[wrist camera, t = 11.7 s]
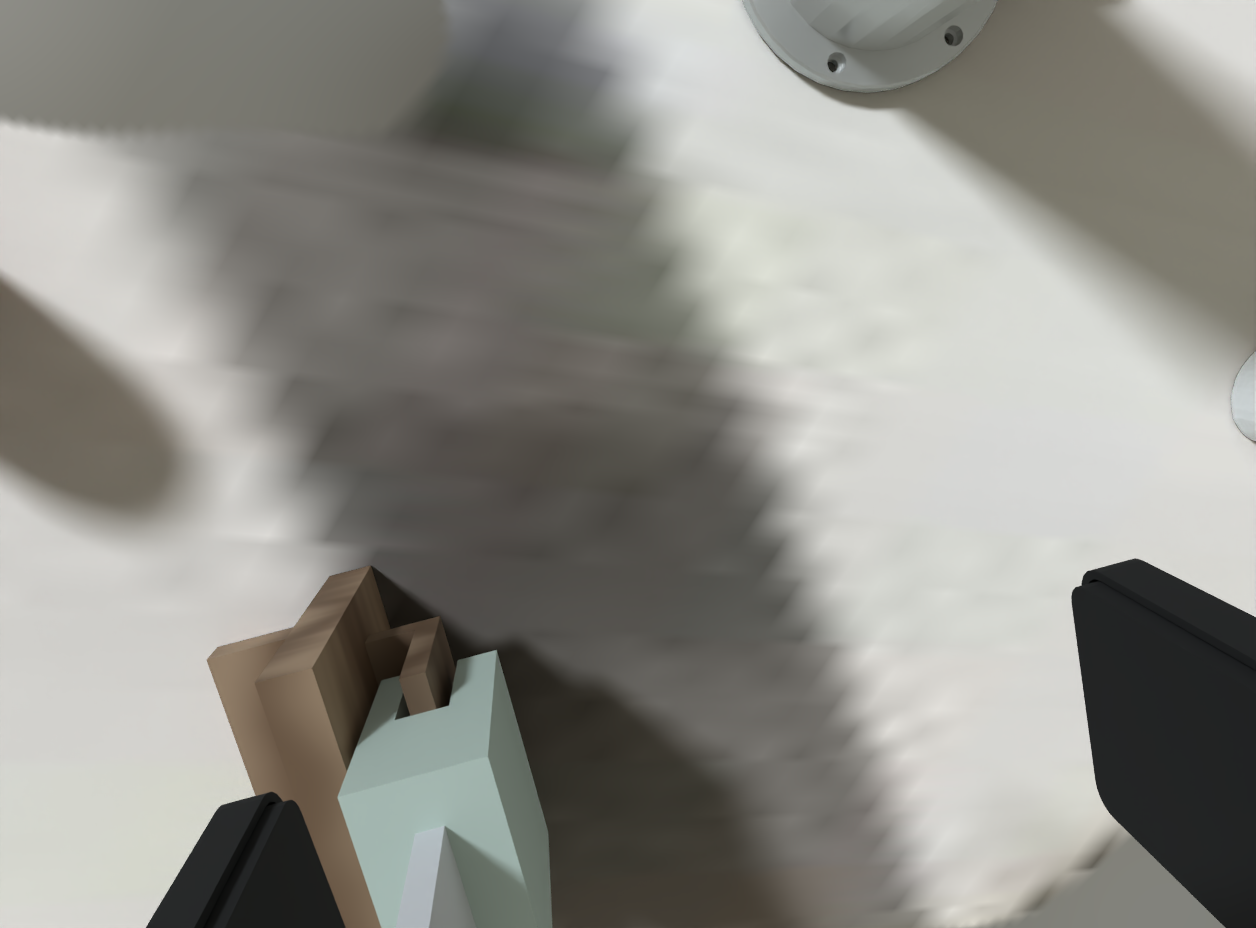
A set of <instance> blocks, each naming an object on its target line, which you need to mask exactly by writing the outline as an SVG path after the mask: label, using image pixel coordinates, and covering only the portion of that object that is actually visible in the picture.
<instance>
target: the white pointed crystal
mask: <svg viewBox="0 0 1256 928" xmlns="http://www.w3.org/2000/svg"><path fill="white" fill-rule="evenodd" d="M1231 406H1232V415H1233V420H1234V421H1235V423H1236V425H1237V426H1238V428H1239V429H1240V431H1241V432H1242V433H1243V434H1244V435H1245V436H1246V437H1248V438H1249V439H1251V440H1253V441H1256V351H1255V352H1254V353H1253V354H1252V355H1251V356H1250V357H1249V358H1248V360H1247V361H1246V362H1245V364H1244V365H1243V366H1242V368H1241V370H1240V371H1239V373H1238V375H1237V377H1236V380H1235V382H1234V387H1233V390H1232V395H1231Z"/></svg>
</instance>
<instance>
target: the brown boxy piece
mask: <svg viewBox="0 0 1256 928" xmlns="http://www.w3.org/2000/svg"><path fill="white" fill-rule="evenodd" d="M207 662H208V665H209V668H210V671H211V673H212V676H213V679H214V682H215V684H216V687H217V690H218V693H219V695H220V698H221V701H222V704H223V707H224V709H225V712H226V715H227V718H228V720H229V723H230V726H231V729H232V732H233V734H234V737H235V740H236V743H237V745H238V748H239V751H240V754H241V756H242V759H243V762H244V765H245V768H246V770H247V773H248V776H249V779H250V781H251V784H252V787H253V790H254V792H255V795H256V796H257V795H261V794H265V793H268V792H274V793H276V794H278V796H279V797H280V798H281V799H282V801H283V802H284V801H288V800H293V801H295V802H296V803H297V805H298V806H299V808H300V810H301V812H302V815H303V818H304V820H305V823H306V825H307V828H308V831H309V833H310V836H311V838H312V841H313V844H314V846H315V849H316V851H317V854H318V857H319V859H320V862H321V864H322V867H323V870H324V872H325V875H326V877H327V880H328V883H329V885H330V888H331V891H332V893H333V896H334V898H335V901H336V904H337V906H338V909H339V911H340V914H341V917H342V919H343V922H344V924H345V927H346V928H381V925H380V922H379V919H378V916H377V913H376V910H375V907H374V904H373V901H372V898H371V896H370V893H369V890H368V887H367V884H366V881H365V878H364V875H363V872H362V869H361V866H360V863H359V860H358V857H357V854H356V851H355V848H354V845H353V842H352V839H351V836H350V833H349V830H348V827H347V824H346V821H345V818H344V815H343V812H342V809H341V806H340V803H339V801H338V798H337V797H338V794H339V792H340V789H341V786H342V784H343V781H344V778H345V776H346V773H347V770H348V768H349V765H350V762H351V760H352V757H353V754H354V752H355V749H356V746H357V744H358V741H359V738H360V736H361V733H362V730H363V728H364V725H365V723H366V720H367V717H368V715H369V712H370V709H371V707H372V704H373V701H374V699H375V696H376V693H377V691H378V688H379V685H380V683H381V680H385V679H389V678H392V677H396V676H400V677H399V681H400V684H401V687H402V691H403V694H404V697H405V700H406V703H407V707H408V710H409V713H410V716H412V715H416V714H420V713H423V712H427V711H431V710H435V709H438V708H442V707H446V706H449V704H450V698H451V693H452V688H453V682H454V677H455V671H456V668H455V664H454V661H453V657H452V654H451V651H450V647H449V644H448V641H447V637H446V634H445V631H444V627H443V624H442V621H441V617H440V616H438V617H434V618H431V619H427V620H423V621H419V622H415V623H412V624H408V625H404V626H400V627H396V628H393V629H391V628H390V625H389V622H388V619H387V616H386V612H385V609H384V606H383V603H382V600H381V596H380V593H379V590H378V587H377V583H376V580H375V577H374V574H373V571H372V567H371V566H367V567H363V568H360V569H356V570H352V571H348V572H344V573H340V574H336V575H332V576H329V578H328V579H327V581H326V582H325V583H324V585H323V586H322V588H321V589H320V591H319V592H318V593H317V595H316V596H315V598H314V599H313V601H312V602H311V603H310V605H309V606H308V608H307V609H306V611H305V612H304V613H303V615H302V616H301V618H300V619H299V621H298V622H297V623H296V625H295V626H294V627H293V628H289V629H285V630H282V631H278V632H274V633H270V634H266V635H262V636H259V637H255V638H251V639H247V640H243V641H240V642H236V643H232V644H228V645H224V646H220V647H217V649H216V650H215V651H214V652H213V653H212V654H211V655H210V656H209V658H208V659H207Z"/></svg>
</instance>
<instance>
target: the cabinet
mask: <svg viewBox="0 0 1256 928" xmlns="http://www.w3.org/2000/svg"><path fill="white" fill-rule="evenodd" d="M399 677H400V676H396V677H392V678H389V679H385V680H381V683H380V685H379V688H378V691H377V693H376V696H375V699H374V701H373V704H372V707H371V709H370V712H369V715H368V717H367V720H366V723H365V725H364V728H363V730H362V733H361V736H360V738H359V741H358V744H357V746H356V749H355V752H354V754H353V757H352V760H351V762H350V765H349V768H348V770H347V773H346V776H345V778H344V781H343V784H342V786H341V789H340V792H339V794H338V797H337V798H338V801H339V803H340V806H341V809H342V812H343V815H344V818H345V821H346V824H347V827H348V830H349V833H350V836H351V839H352V842H353V845H354V848H355V851H356V854H357V857H358V860H359V863H360V866H361V869H362V872H363V875H364V878H365V881H366V884H367V887H368V890H369V893H370V896H371V898H372V901H373V904H374V907H375V910H376V913H377V916H378V919H379V922H380V925H381V928H552V906H551V883H550V859H549V836H548V829H547V826H546V822H545V819H544V815H543V812H542V808H541V805H540V801H539V798H538V794H537V791H536V787H535V784H534V780H533V777H532V773H531V770H530V766H529V762H528V759H527V755H526V752H525V748H524V745H523V741H522V738H521V734H520V731H519V727H518V724H517V720H516V717H515V713H514V710H513V706H512V703H511V699H510V695H509V692H508V688H507V685H506V681H505V678H504V674H503V671H502V667H501V664H500V660H499V657H498V653H497V650H494V651H491V652H487V653H483V654H479V655H475V656H472V657H468V658H464V659H460V660H458V661H457V666H456V671H455V677H454V682H453V688H452V693H451V698H450V704H449V706H446V707H442V708H438V709H435V710H431V711H427V712H423V713H420V714H416V715H412V716H410V713H409V710H408V707H407V703H406V700H405V697H404V694H403V691H402V687H401V684H400V681H399Z"/></svg>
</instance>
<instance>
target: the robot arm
mask: <svg viewBox="0 0 1256 928" xmlns="http://www.w3.org/2000/svg"><path fill="white" fill-rule="evenodd" d="M997 1H998V0H742V2H743V5H744V8H745V10H746V11H747V13H748V15H749V17H750V19H751V21H752V22H753V24H754V26H755V28H756V30H757V32H758V33H759V34H760V36H761V37H762V38H763V39H764V40H765V42H766V43H767V44H768V45H769V47H770V48H771V49H772V50H773V52H774V53H775V54H776V55H777V56H779V57H780V58H781V59H782V60H783V61H785V62H786V63H787V64H788V65H789V66H791V67H792V68H793V69H794V70H795V71H797V72H799V73H801V74H802V75H804V76H806V77H808V78H810V79H812V80H813V81H815V82H817V83H819V84H823V85H826V86H829V87H833V88H836V89H839V90H843V91H853V92H865V93H870V92H878V91H886V90H894V89H896V88H899V87H902V86H905V85H908V84H911V83H914V82H917V81H919V80H921V79H922V78H924V77H926V76H928V75H930V74H932V73H934V72H936V71H937V70H939V69H940V68H942V67H943V66H944V65H946V64H947V63H949V62H950V61H951V60H953V59H954V58H955V57H957V56H958V55H959V54H960V53H961V52H962V51H963V50H964V49H965V48H966V47H967V46H968V45H969V44H970V43H971V42H972V41H973V39H974V38H975V37H976V36H977V35H978V34H979V32H980V31H981V29H982V28H983V26H984V25H985V23H986V21H987V20H988V18H989V17H990V15H991V14H992V12H993V10H994V8H995V6H996V3H997ZM944 36H946V37H947V38H948V39H949V45H948V44H947V43H946V41H945V39H944ZM828 62H832V63H833V64H834V66H835V71H834V72H832V71H830V70H829V68H828V65H827V63H828ZM1072 608H1073V616H1074V623H1075V631H1076V638H1077V646H1078V653H1079V661H1080V668H1081V676H1082V683H1083V690H1084V698H1085V705H1086V713H1087V720H1088V728H1089V735H1090V743H1091V750H1092V758H1093V765H1094V773H1095V780H1096V785H1097V789H1098V792H1099V795H1100V797H1101V799H1102V801H1103V803H1104V805H1105V807H1106V808H1107V810H1108V811H1109V813H1110V814H1111V815H1112V816H1113V818H1114V819H1115V820H1116V821H1117V822H1118V823H1120V824H1121V825H1122V826H1123V827H1124V828H1125V829H1126V830H1127V831H1128V832H1129V833H1130V834H1131V835H1132V836H1133V837H1134V838H1135V839H1136V840H1137V841H1138V842H1139V843H1140V844H1141V845H1142V846H1143V847H1144V848H1145V849H1146V850H1147V851H1148V852H1149V853H1150V854H1151V855H1152V856H1153V857H1154V858H1155V859H1156V860H1157V861H1158V862H1159V863H1160V864H1161V865H1162V866H1163V867H1164V868H1165V869H1167V871H1169V873H1171V874H1172V875H1173V876H1174V877H1175V878H1176V879H1177V880H1178V881H1179V882H1180V883H1181V884H1182V885H1183V886H1184V887H1185V888H1186V889H1187V890H1188V891H1189V892H1190V893H1191V894H1192V895H1193V896H1194V897H1195V898H1196V899H1197V900H1198V901H1199V902H1200V903H1201V904H1202V905H1203V906H1204V907H1205V908H1206V909H1207V910H1208V911H1209V912H1210V913H1211V914H1212V915H1213V916H1214V917H1215V918H1216V919H1217V920H1218V921H1219V922H1220V923H1222V924H1223V925H1224V926H1225V927H1226V928H1256V617H1254V616H1252V615H1250V614H1248V613H1246V612H1244V611H1242V610H1240V609H1238V608H1236V607H1234V606H1232V605H1230V604H1228V603H1226V602H1224V601H1222V600H1220V599H1218V598H1216V597H1214V596H1212V595H1210V594H1208V593H1206V592H1204V591H1202V590H1200V589H1198V588H1196V587H1194V586H1192V585H1190V584H1188V583H1186V582H1184V581H1182V580H1180V579H1178V578H1176V577H1174V576H1172V575H1170V574H1168V573H1166V572H1164V571H1162V570H1160V569H1158V568H1156V567H1154V566H1152V565H1150V564H1148V563H1146V562H1144V561H1142V560H1139V559H1132V560H1128V561H1124V562H1120V563H1117V564H1113V565H1109V566H1105V567H1102V568H1098V569H1094V570H1091V571H1087V572H1086V573H1085V575H1084V576H1083V580H1082V586H1079V587H1075V589H1074V590H1073V592H1072ZM146 928H346V927H345V924H344V922H343V919H342V917H341V914H340V911H339V909H338V906H337V904H336V901H335V898H334V896H333V893H332V891H331V888H330V885H329V883H328V880H327V877H326V875H325V872H324V870H323V867H322V864H321V862H320V859H319V857H318V854H317V851H316V849H315V846H314V844H313V841H312V838H311V836H310V833H309V831H308V828H307V825H306V823H305V820H304V818H303V815H302V812H301V810H300V808H299V806H298V805H297V803H296V802H295V801H293V800H288V801H284V802H283V801H282V799H281V798H280V797H279V796H278V794H276V793H274V792H268V793H265V794H261V795H257V796H254V797H250V798H246V799H243V800H239V801H235V802H231V803H228V804H224V805H221V806H220V807H219V808H218V809H217V811H216V812H215V814H214V815H213V817H212V819H211V820H210V822H209V824H208V825H207V827H206V829H205V830H204V832H203V834H202V835H201V837H200V839H199V840H198V842H197V844H196V845H195V847H194V849H193V850H192V852H191V854H190V855H189V857H188V859H187V860H186V862H185V864H184V865H183V867H182V869H181V870H180V872H179V874H178V875H177V877H176V879H175V880H174V882H173V884H172V885H171V887H170V889H169V890H168V892H167V893H166V895H165V897H164V898H163V900H162V902H161V903H160V905H159V907H158V908H157V910H156V912H155V913H154V915H153V917H152V918H151V920H150V922H149V923H148V925H147V927H146Z"/></svg>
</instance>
